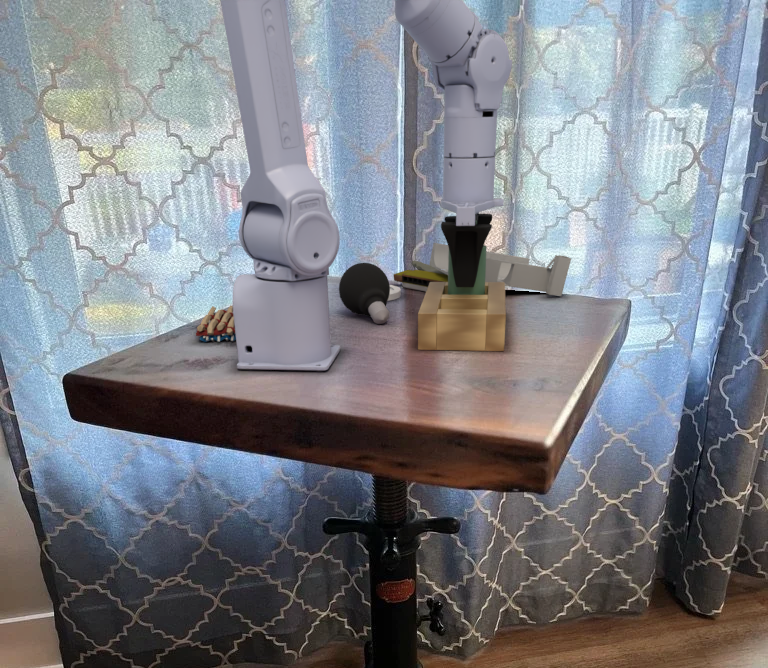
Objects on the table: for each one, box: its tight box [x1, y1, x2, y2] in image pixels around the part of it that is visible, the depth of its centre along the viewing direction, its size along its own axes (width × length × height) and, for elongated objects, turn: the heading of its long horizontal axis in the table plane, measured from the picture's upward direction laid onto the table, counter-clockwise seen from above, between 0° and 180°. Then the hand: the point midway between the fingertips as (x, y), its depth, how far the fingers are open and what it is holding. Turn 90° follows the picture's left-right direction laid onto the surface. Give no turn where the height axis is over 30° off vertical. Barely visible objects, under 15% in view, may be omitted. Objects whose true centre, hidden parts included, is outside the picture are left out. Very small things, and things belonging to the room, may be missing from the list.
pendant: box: [387, 284, 402, 302], centre depth 111 cm, size 7×11×1 cm, turn 34°
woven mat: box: [195, 305, 236, 343], centre depth 93 cm, size 10×11×2 cm
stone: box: [411, 260, 447, 275], centre depth 120 cm, size 13×2×5 cm
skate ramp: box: [428, 238, 572, 297], centre depth 109 cm, size 15×13×5 cm
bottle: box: [448, 214, 488, 295], centre depth 92 cm, size 4×4×10 cm
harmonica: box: [393, 269, 448, 293], centre depth 111 cm, size 15×3×2 cm, turn 41°
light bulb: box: [338, 262, 391, 325], centre depth 97 cm, size 6×6×10 cm
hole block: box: [417, 282, 507, 352], centre depth 91 cm, size 9×17×4 cm, turn 173°
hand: (465, 282), depth 93 cm, fingers closed on bottle, 4 cm apart
